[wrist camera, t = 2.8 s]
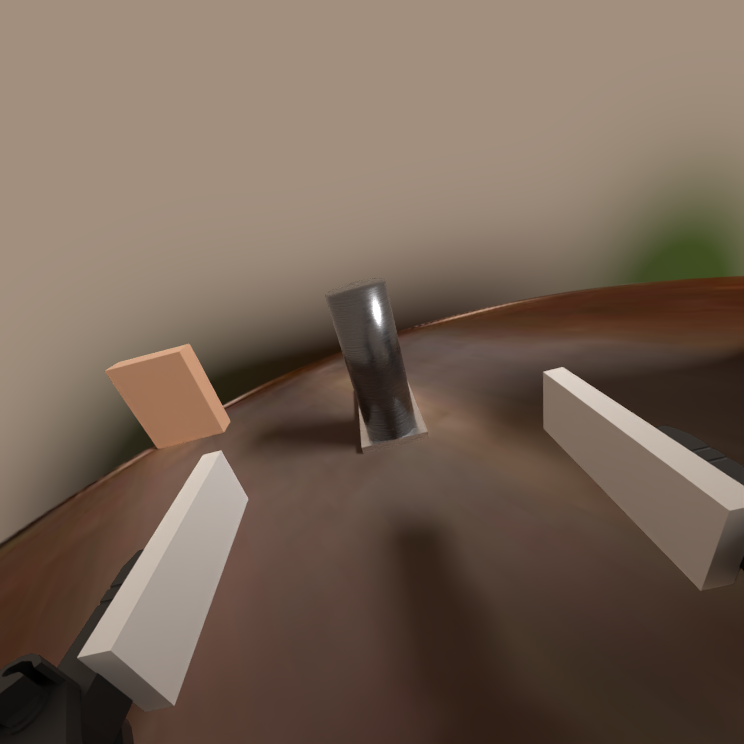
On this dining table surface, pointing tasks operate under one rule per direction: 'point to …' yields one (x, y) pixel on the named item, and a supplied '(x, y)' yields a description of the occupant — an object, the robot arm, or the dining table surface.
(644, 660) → the dining table surface
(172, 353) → the tile
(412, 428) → the metal post on base
